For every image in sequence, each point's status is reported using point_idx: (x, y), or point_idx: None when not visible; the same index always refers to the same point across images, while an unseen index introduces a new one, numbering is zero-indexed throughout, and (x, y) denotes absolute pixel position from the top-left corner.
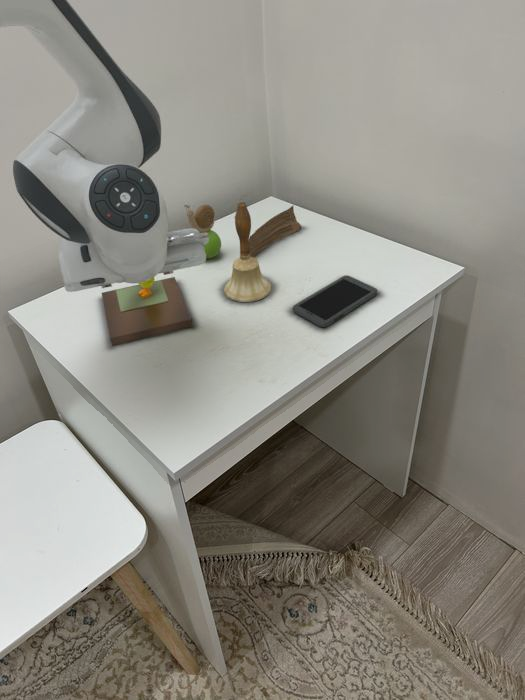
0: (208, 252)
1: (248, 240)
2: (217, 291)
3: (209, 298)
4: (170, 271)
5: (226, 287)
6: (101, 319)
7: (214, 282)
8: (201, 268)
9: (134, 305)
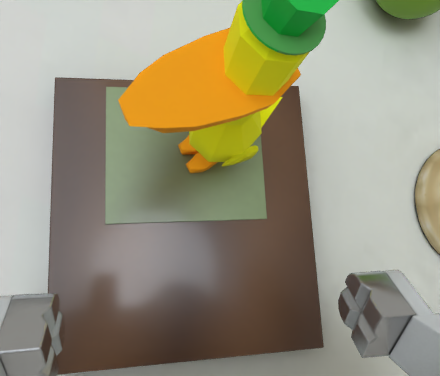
0: (414, 13)
1: None
2: (395, 183)
3: (371, 210)
4: (392, 353)
5: (430, 193)
6: (39, 198)
7: (392, 134)
8: (366, 49)
9: (156, 204)
